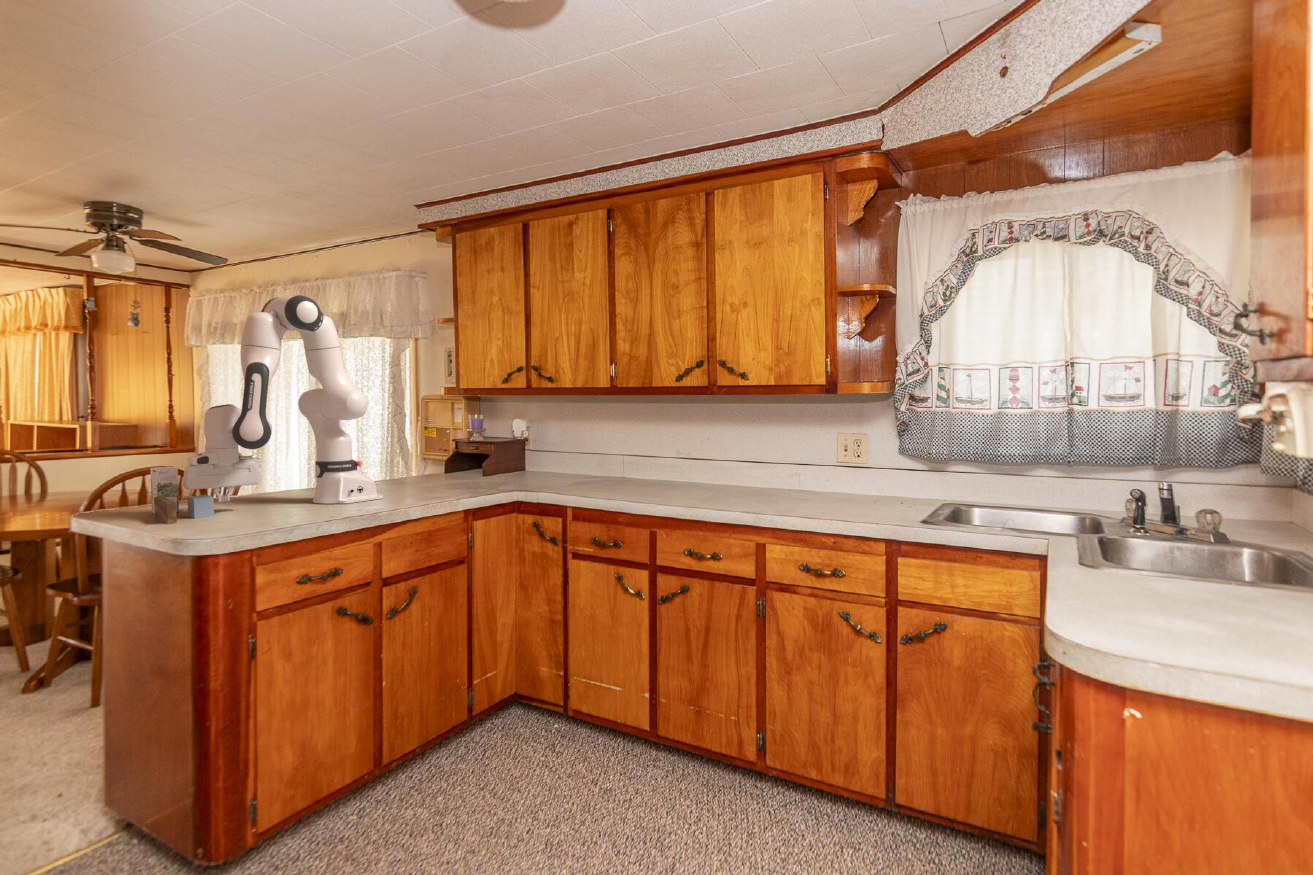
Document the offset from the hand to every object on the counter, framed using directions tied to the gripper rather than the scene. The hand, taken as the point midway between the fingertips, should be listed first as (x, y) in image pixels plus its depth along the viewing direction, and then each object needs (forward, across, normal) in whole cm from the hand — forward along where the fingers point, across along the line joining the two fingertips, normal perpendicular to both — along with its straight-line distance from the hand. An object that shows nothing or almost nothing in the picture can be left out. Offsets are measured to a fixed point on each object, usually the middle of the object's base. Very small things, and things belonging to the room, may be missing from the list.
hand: (223, 501), depth 212 cm
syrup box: (+4, +12, -14) cm, 19 cm away
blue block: (+4, +6, 0) cm, 7 cm away
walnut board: (+4, +15, 0) cm, 16 cm away
